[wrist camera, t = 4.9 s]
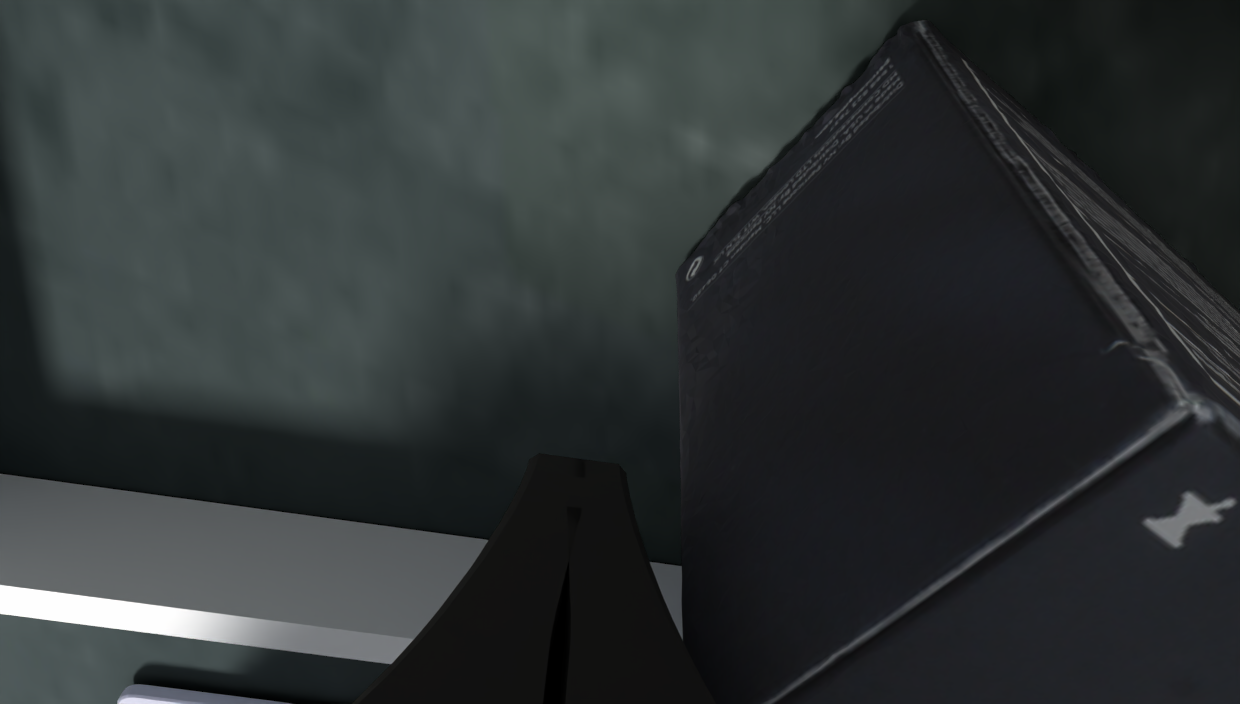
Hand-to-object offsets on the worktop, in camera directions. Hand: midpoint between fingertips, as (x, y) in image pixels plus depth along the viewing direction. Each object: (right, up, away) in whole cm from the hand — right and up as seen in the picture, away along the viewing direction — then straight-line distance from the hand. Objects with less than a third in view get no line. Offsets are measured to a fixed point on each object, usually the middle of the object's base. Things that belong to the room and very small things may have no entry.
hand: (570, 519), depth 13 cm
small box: (+7, +3, +6) cm, 10 cm away
